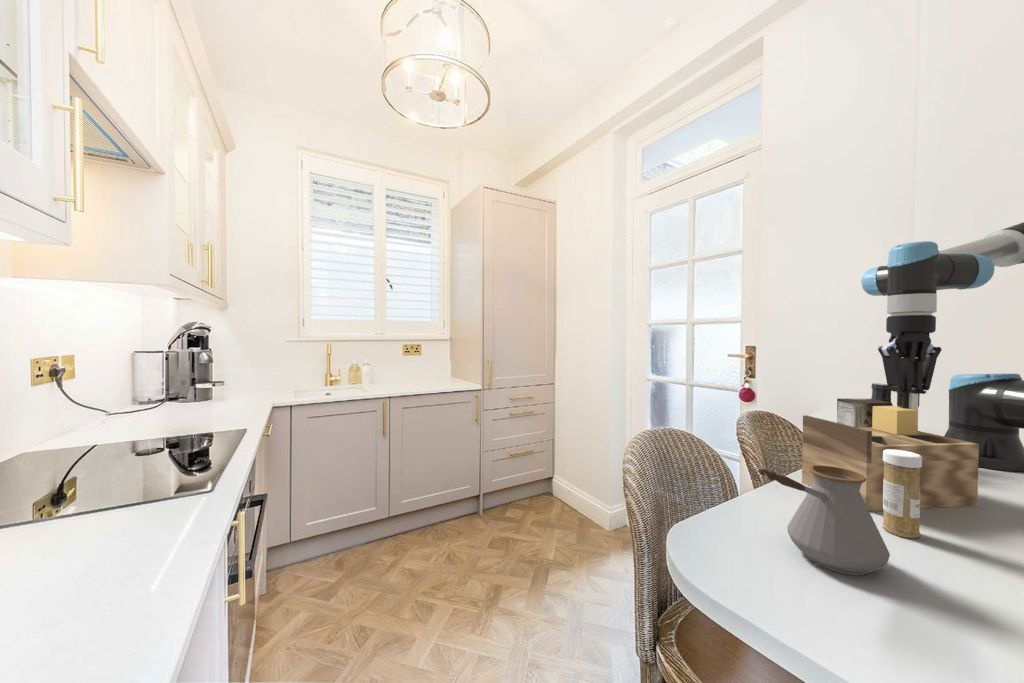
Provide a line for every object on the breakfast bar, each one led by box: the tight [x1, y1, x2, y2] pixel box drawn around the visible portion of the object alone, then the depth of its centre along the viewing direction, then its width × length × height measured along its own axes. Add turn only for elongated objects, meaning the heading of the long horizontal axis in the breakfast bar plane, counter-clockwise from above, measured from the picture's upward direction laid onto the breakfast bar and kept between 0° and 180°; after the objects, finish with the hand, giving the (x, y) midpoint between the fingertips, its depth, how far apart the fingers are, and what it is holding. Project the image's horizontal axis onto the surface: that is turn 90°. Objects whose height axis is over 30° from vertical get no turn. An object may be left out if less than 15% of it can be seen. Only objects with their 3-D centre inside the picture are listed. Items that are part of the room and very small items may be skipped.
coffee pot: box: [750, 465, 891, 576], centre depth 55 cm, size 21×12×15 cm, turn 108°
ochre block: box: [872, 405, 919, 434], centre depth 84 cm, size 5×5×5 cm
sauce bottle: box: [870, 382, 894, 406], centre depth 104 cm, size 6×6×20 cm
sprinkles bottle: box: [881, 449, 922, 539], centre depth 64 cm, size 5×5×14 cm
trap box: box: [801, 415, 979, 512], centre depth 80 cm, size 24×14×15 cm, turn 96°
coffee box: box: [836, 398, 893, 428], centre depth 100 cm, size 9×6×16 cm
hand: (907, 422), depth 84 cm, fingers closed
